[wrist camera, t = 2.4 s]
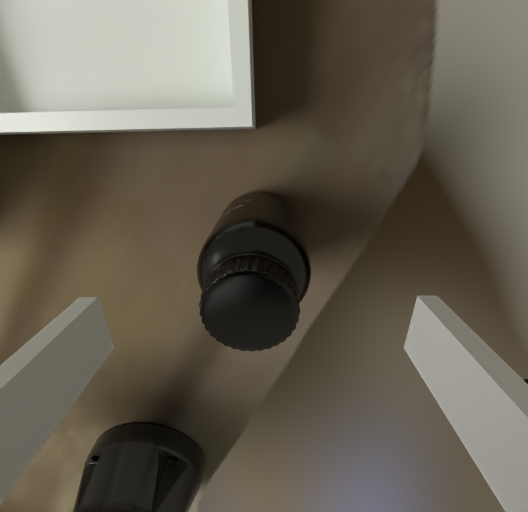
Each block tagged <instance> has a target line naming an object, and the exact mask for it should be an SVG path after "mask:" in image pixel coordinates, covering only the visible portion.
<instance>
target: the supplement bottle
mask: <svg viewBox="0 0 528 512" xmlns="http://www.w3.org/2000/svg"><path fill="white" fill-rule="evenodd" d="M197 276H198V282H199V285H200V288H201V290H202V294H201V301H200V303H199V306H200V315H201V317H202V323H203V324H204V325H205V328H206V330H207V331H209V332H210V334H211V336H213V337H215V338H216V340H217V341H219V342H222V343H223V344H224V345H225V346H230V347H232V348H233V349H239V350H242V351H246V350H248V351H255V350H258V351H261V350H263V349H270V348H271V347H273V346H277V345H278V344H279V343H280V342H283V341H285V340H286V338H287V337H289V336H290V335H291V334H292V331H293V330H295V329H296V324H297V323H298V321H299V314H300V306H299V303H300V302H301V301H302V299H303V298H304V296H305V294H306V292H307V290H308V287H309V284H310V279H311V266H310V260H309V256H308V253H307V249H306V246H305V243H304V240H303V236H302V233H301V230H300V226H299V223H298V220H297V218H296V216H295V213H294V212H293V210H292V209H291V207H290V206H289V205H288V204H287V203H286V202H285V201H284V200H282V199H281V198H279V197H277V196H275V195H272V194H269V193H264V192H253V193H248V194H245V195H242V196H240V197H238V198H237V199H235V200H234V201H233V202H232V203H231V204H230V205H229V206H228V207H227V208H226V209H225V211H224V212H223V214H222V216H221V217H220V219H219V221H218V222H217V224H216V226H215V227H214V229H213V231H212V232H211V234H210V236H209V237H208V239H207V241H206V242H205V244H204V246H203V248H202V250H201V253H200V256H199V259H198V264H197Z"/></svg>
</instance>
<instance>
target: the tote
mask: <svg viewBox="0 0 528 512" xmlns="http://www.w3.org/2000/svg"><path fill="white" fill-rule="evenodd" d="M233 129H256V122H255V89H254V55H253V21H252V0H0V135H14V134H58V133H102V132H146V131H190V130H233Z"/></svg>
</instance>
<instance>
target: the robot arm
mask: <svg viewBox="0 0 528 512" xmlns="http://www.w3.org/2000/svg"><path fill="white" fill-rule="evenodd" d="M113 349H114V345H113V342H112V339H111V336H110V333H109V330H108V327H107V324H106V321H105V318H104V315H103V312H102V309H101V306H100V303H99V300H98V297H79V298H78V299H77V300H76V301H75V302H74V303H72V304H71V305H70V306H69V307H68V308H67V309H65V310H64V311H63V312H62V313H61V314H60V315H58V316H57V317H56V318H55V319H54V320H53V321H51V322H50V323H49V324H48V325H47V326H46V327H44V328H43V329H42V330H41V331H40V332H39V333H37V334H36V335H35V336H34V337H33V338H32V339H30V340H29V341H28V342H27V343H26V344H25V345H23V346H22V347H21V348H20V349H19V350H18V351H16V352H15V353H14V354H13V355H12V356H11V357H9V358H8V359H7V360H6V361H5V362H4V363H2V364H1V365H0V504H1V503H2V501H3V500H4V499H5V497H6V496H7V495H8V493H9V492H10V490H11V489H12V488H13V486H14V485H15V484H16V482H17V481H18V479H19V478H20V477H21V475H22V474H23V473H24V471H25V470H26V468H27V467H28V466H29V464H30V463H31V462H32V460H33V459H34V457H35V456H36V455H37V453H38V452H39V451H40V449H41V448H42V447H43V445H44V444H45V442H46V441H47V440H48V438H49V437H50V436H51V434H52V433H53V431H54V430H55V429H56V427H57V426H58V425H59V423H60V422H61V420H62V419H63V418H64V416H65V415H66V414H67V412H68V411H69V409H70V408H71V407H72V405H73V404H74V403H75V401H76V400H77V398H78V397H79V396H80V394H81V393H82V392H83V390H84V389H85V388H86V386H87V385H88V383H89V382H90V381H91V379H92V378H93V377H94V375H95V374H96V372H97V371H98V370H99V368H100V367H101V366H102V364H103V363H104V361H105V360H106V359H107V357H108V356H109V355H110V353H111V352H112V350H113ZM404 349H405V351H406V352H407V354H408V356H409V357H410V359H411V360H412V362H413V364H414V365H415V367H416V368H417V370H418V372H419V373H420V375H421V376H422V378H423V380H424V381H425V383H426V384H427V386H428V388H429V389H430V391H431V393H432V394H433V396H434V398H435V399H436V401H437V402H438V404H439V406H440V407H441V409H442V410H443V412H444V414H445V415H446V417H447V418H448V420H449V422H450V423H451V425H452V426H453V428H454V430H455V431H456V433H457V434H458V436H459V438H460V439H461V441H462V443H463V444H464V446H465V447H466V449H467V451H468V452H469V454H470V456H471V457H472V459H473V460H474V462H475V464H476V465H477V467H478V468H479V470H480V472H481V473H482V475H483V477H484V478H485V480H486V481H487V483H488V485H489V486H490V488H491V489H492V491H493V493H494V494H495V496H496V497H497V499H498V501H499V502H500V504H501V505H502V507H503V509H504V510H505V512H528V379H522V378H521V377H520V376H519V375H517V374H516V373H515V372H514V371H513V370H512V369H511V368H510V367H509V366H508V365H507V364H506V363H505V362H504V361H503V360H502V359H501V358H500V357H499V356H498V355H497V354H496V353H495V352H494V351H493V350H492V349H491V348H490V347H489V346H488V345H487V344H486V343H485V342H484V341H483V340H482V339H481V338H479V336H478V335H477V334H476V333H474V332H473V331H472V330H471V329H470V328H469V327H468V326H467V325H466V324H465V323H464V322H463V321H462V320H461V319H460V318H459V317H458V316H457V315H456V314H455V313H454V312H453V311H452V310H451V309H450V308H449V307H448V306H447V305H446V304H445V303H444V302H443V301H441V299H440V298H439V297H438V296H417V299H416V303H415V307H414V311H413V315H412V319H411V322H410V326H409V330H408V334H407V338H406V341H405V346H404ZM204 465H205V460H204V456H203V453H202V451H201V450H200V448H199V447H198V446H197V445H196V444H195V443H194V442H193V441H192V440H191V439H189V438H188V437H186V436H185V435H183V434H181V433H179V432H177V431H175V430H172V429H170V428H166V427H163V426H159V425H153V424H144V423H134V424H125V425H120V426H117V427H114V428H111V429H109V430H107V431H106V432H104V433H103V434H102V435H101V436H100V437H99V438H98V439H97V441H96V443H95V445H94V446H93V448H92V450H91V452H90V454H89V455H88V457H87V460H86V463H85V466H84V470H83V474H82V478H81V482H80V486H79V490H78V494H77V498H76V502H75V506H74V510H73V512H188V511H189V509H190V507H191V505H192V502H193V500H194V498H195V496H196V494H197V492H198V490H199V487H200V484H201V481H202V476H203V471H204Z"/></svg>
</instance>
